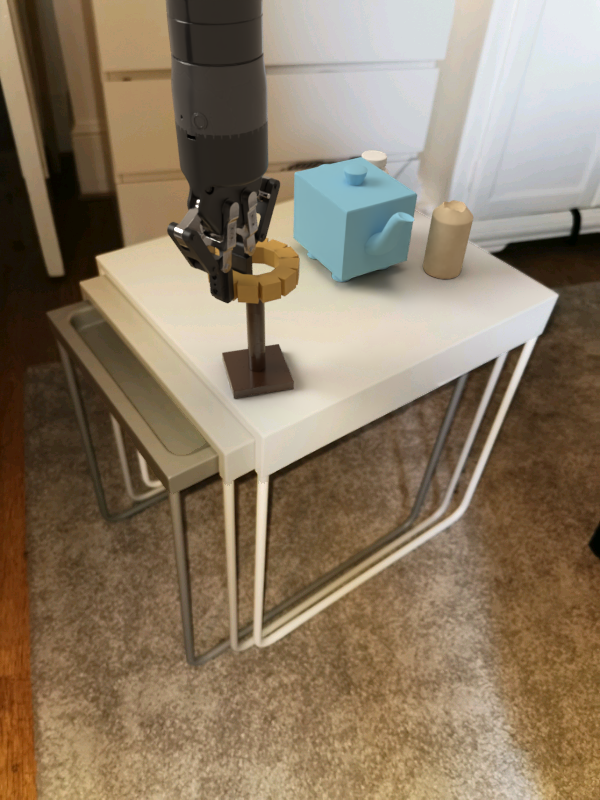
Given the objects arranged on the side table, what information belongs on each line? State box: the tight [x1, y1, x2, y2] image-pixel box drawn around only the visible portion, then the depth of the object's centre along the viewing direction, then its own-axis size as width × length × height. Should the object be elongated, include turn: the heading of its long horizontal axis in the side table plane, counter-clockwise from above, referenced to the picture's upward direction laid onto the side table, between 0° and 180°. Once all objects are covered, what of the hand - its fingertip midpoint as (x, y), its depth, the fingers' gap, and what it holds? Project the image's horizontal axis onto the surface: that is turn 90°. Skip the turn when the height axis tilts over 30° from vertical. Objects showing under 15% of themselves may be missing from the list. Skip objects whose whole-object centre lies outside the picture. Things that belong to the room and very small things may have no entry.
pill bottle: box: [361, 149, 390, 175], centre depth 102 cm, size 5×5×9 cm
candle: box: [422, 199, 474, 280], centre depth 89 cm, size 6×6×10 cm
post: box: [221, 299, 295, 400], centre depth 71 cm, size 7×7×11 cm
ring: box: [207, 237, 301, 304], centre depth 65 cm, size 9×9×2 cm
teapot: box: [292, 156, 418, 283], centre depth 88 cm, size 22×11×14 cm, turn 30°
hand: (232, 292), depth 63 cm, fingers closed on ring, 2 cm apart
